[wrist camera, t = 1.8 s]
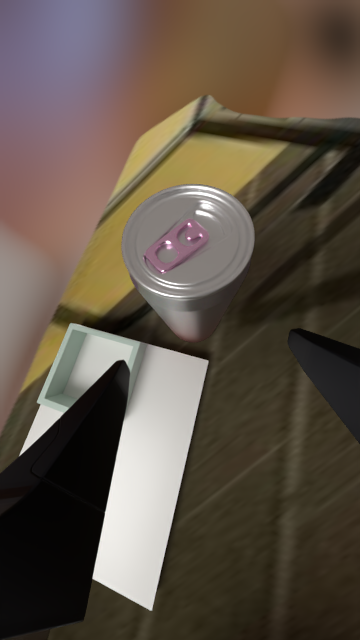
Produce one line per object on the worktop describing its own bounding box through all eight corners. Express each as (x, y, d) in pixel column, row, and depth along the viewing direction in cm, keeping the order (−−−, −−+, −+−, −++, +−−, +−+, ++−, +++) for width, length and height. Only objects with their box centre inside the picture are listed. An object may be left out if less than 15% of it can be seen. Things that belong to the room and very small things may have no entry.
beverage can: (161, 317, 22) (91, 233, 7) (195, 290, 22) (193, 159, 8) (190, 352, 20) (174, 335, 6) (226, 322, 21) (294, 236, 6)
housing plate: (155, 592, 15) (142, 663, 12) (4, 512, 18) (-43, 549, 15) (207, 360, 20) (210, 360, 16) (80, 325, 23) (59, 319, 19)
